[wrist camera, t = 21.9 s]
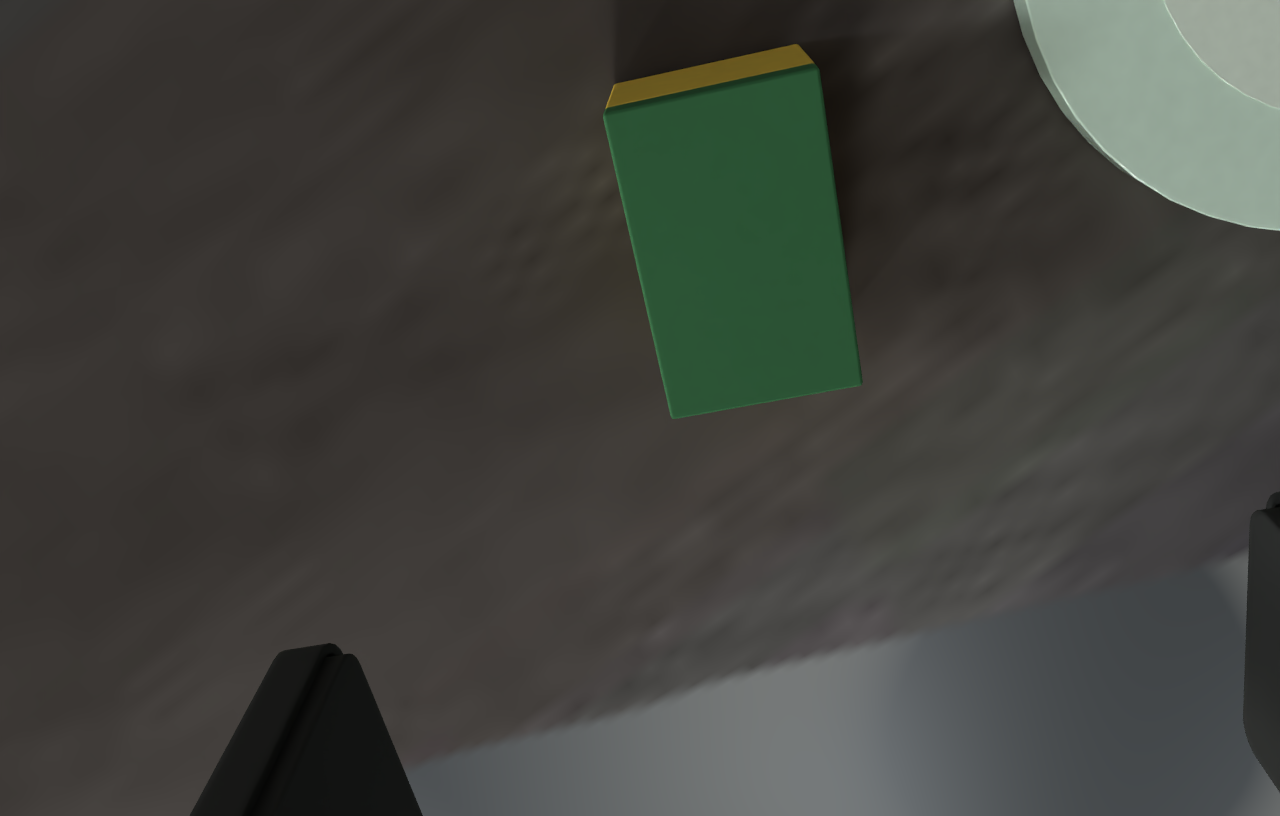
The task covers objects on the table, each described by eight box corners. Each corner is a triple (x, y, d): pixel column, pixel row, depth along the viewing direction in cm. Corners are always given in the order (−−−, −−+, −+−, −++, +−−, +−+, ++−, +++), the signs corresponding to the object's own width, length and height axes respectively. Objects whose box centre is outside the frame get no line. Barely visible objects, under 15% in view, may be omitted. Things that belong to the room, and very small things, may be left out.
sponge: (613, 83, 28) (601, 113, 24) (798, 42, 27) (819, 66, 23) (672, 354, 31) (671, 420, 27) (839, 323, 31) (863, 386, 27)
